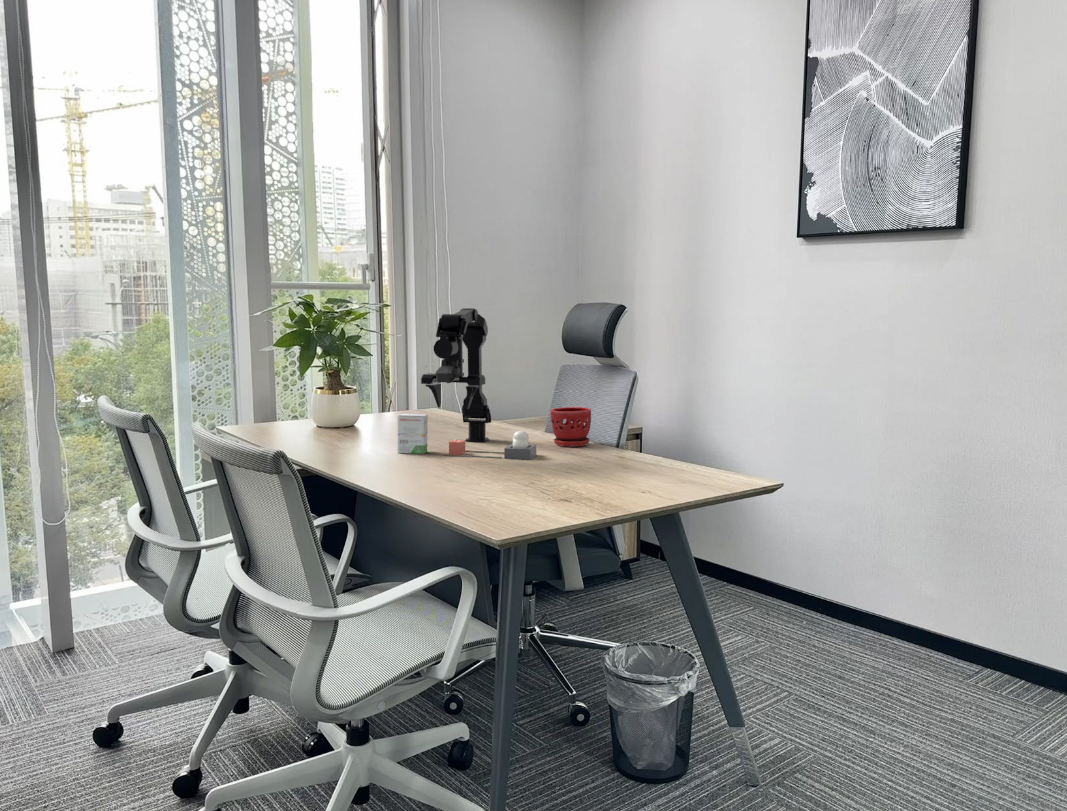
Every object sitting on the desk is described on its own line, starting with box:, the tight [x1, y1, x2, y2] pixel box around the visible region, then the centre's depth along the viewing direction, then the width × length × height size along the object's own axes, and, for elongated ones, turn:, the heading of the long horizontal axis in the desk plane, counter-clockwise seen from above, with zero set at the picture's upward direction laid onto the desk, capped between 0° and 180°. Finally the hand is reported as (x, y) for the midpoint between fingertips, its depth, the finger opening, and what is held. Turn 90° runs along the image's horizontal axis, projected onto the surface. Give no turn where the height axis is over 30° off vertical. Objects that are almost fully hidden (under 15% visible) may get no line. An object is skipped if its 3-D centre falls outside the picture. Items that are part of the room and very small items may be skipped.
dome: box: [512, 430, 530, 449], centre depth 260 cm, size 5×5×6 cm
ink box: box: [397, 413, 429, 455], centre depth 266 cm, size 9×5×12 cm, turn 84°
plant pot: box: [550, 406, 592, 448], centre depth 281 cm, size 13×13×12 cm
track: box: [443, 449, 504, 459], centre depth 263 cm, size 9×18×1 cm, turn 77°
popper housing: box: [503, 443, 537, 460], centre depth 260 cm, size 8×8×3 cm
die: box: [448, 438, 466, 455], centre depth 264 cm, size 4×4×4 cm
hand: (453, 408), depth 260 cm, fingers open, 9 cm apart
